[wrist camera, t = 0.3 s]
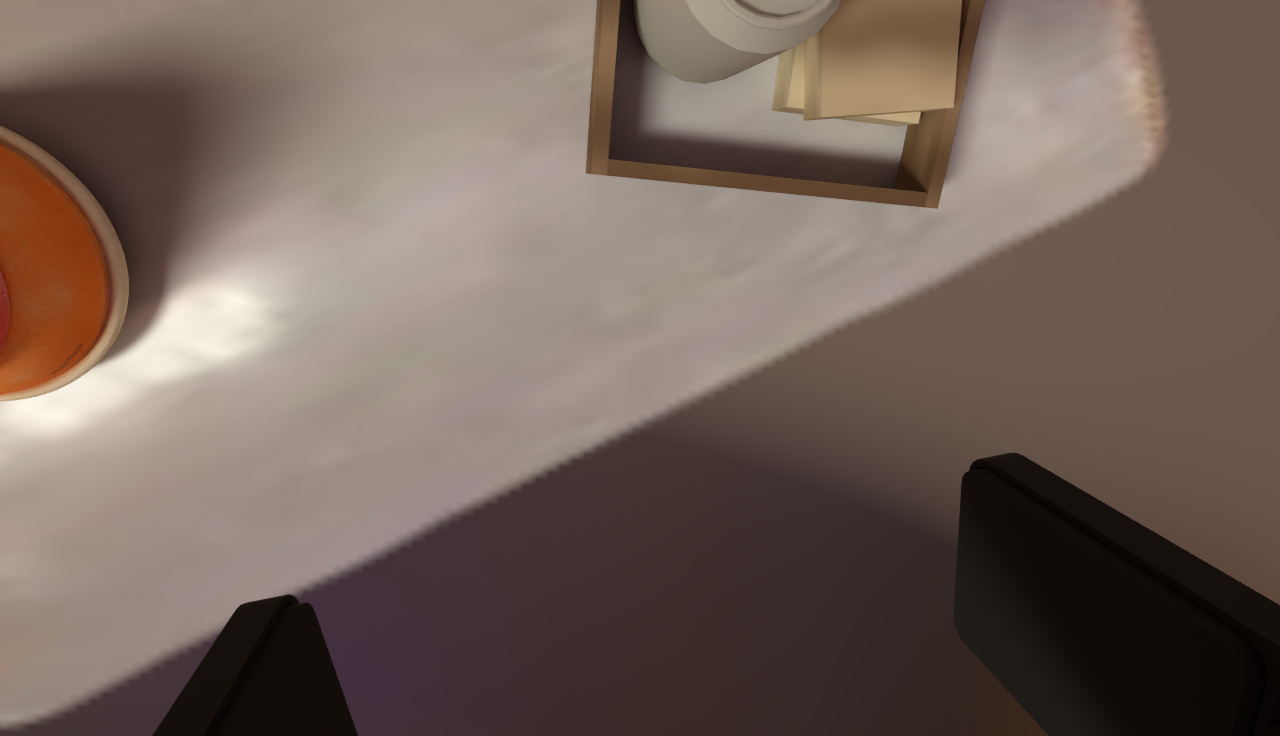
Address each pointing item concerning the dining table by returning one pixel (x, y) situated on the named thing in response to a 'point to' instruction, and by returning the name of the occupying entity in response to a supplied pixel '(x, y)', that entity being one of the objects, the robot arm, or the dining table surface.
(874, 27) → the offcut stack
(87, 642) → the dining table surface
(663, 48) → the can
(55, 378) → the stacking toy
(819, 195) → the wooden frame
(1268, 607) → the robot arm
